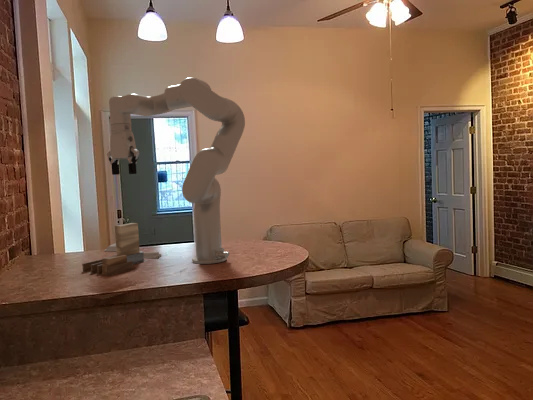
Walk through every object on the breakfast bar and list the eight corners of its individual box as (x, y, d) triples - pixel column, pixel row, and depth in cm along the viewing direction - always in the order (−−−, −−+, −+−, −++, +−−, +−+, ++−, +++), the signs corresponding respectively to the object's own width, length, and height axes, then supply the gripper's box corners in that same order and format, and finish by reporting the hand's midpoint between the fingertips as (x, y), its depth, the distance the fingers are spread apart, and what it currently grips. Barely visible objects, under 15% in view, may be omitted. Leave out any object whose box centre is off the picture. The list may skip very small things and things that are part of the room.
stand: (149, 263, 171) (148, 251, 171) (125, 269, 162) (124, 257, 162) (132, 261, 176) (132, 250, 176) (108, 267, 167) (107, 255, 167)
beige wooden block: (140, 260, 171) (137, 223, 170) (122, 265, 165) (120, 226, 164) (134, 260, 173) (132, 222, 172) (117, 264, 166) (114, 225, 165)
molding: (166, 258, 182) (165, 251, 182) (136, 263, 175) (136, 256, 175) (123, 246, 215) (123, 240, 215) (97, 250, 208) (97, 244, 207)
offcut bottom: (128, 269, 157) (128, 262, 157) (108, 274, 151) (108, 267, 150) (121, 268, 159) (121, 261, 159) (102, 273, 152) (101, 266, 152)
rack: (135, 272, 158) (134, 260, 157) (108, 279, 148) (108, 267, 148) (107, 268, 166) (106, 257, 166) (80, 275, 157) (79, 263, 156)
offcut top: (127, 262, 157) (126, 255, 156) (109, 266, 151) (108, 259, 151) (120, 261, 159) (119, 254, 158) (102, 265, 153) (102, 258, 152)
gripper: (144, 128, 175) (147, 173, 176) (114, 131, 185) (117, 174, 186) (128, 127, 169) (131, 174, 170) (98, 130, 178) (101, 175, 180)
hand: (124, 174), depth 178 cm, fingers open, 9 cm apart
